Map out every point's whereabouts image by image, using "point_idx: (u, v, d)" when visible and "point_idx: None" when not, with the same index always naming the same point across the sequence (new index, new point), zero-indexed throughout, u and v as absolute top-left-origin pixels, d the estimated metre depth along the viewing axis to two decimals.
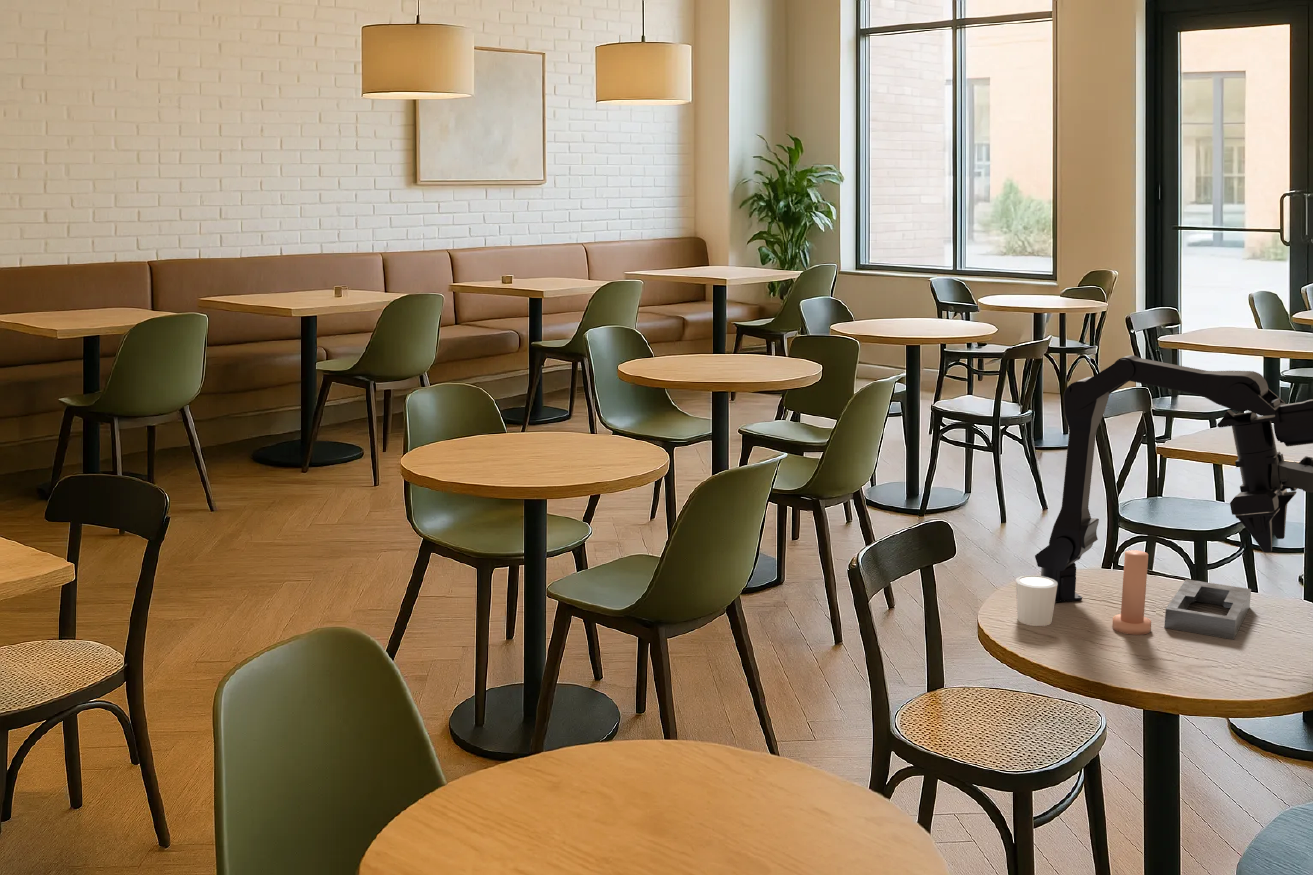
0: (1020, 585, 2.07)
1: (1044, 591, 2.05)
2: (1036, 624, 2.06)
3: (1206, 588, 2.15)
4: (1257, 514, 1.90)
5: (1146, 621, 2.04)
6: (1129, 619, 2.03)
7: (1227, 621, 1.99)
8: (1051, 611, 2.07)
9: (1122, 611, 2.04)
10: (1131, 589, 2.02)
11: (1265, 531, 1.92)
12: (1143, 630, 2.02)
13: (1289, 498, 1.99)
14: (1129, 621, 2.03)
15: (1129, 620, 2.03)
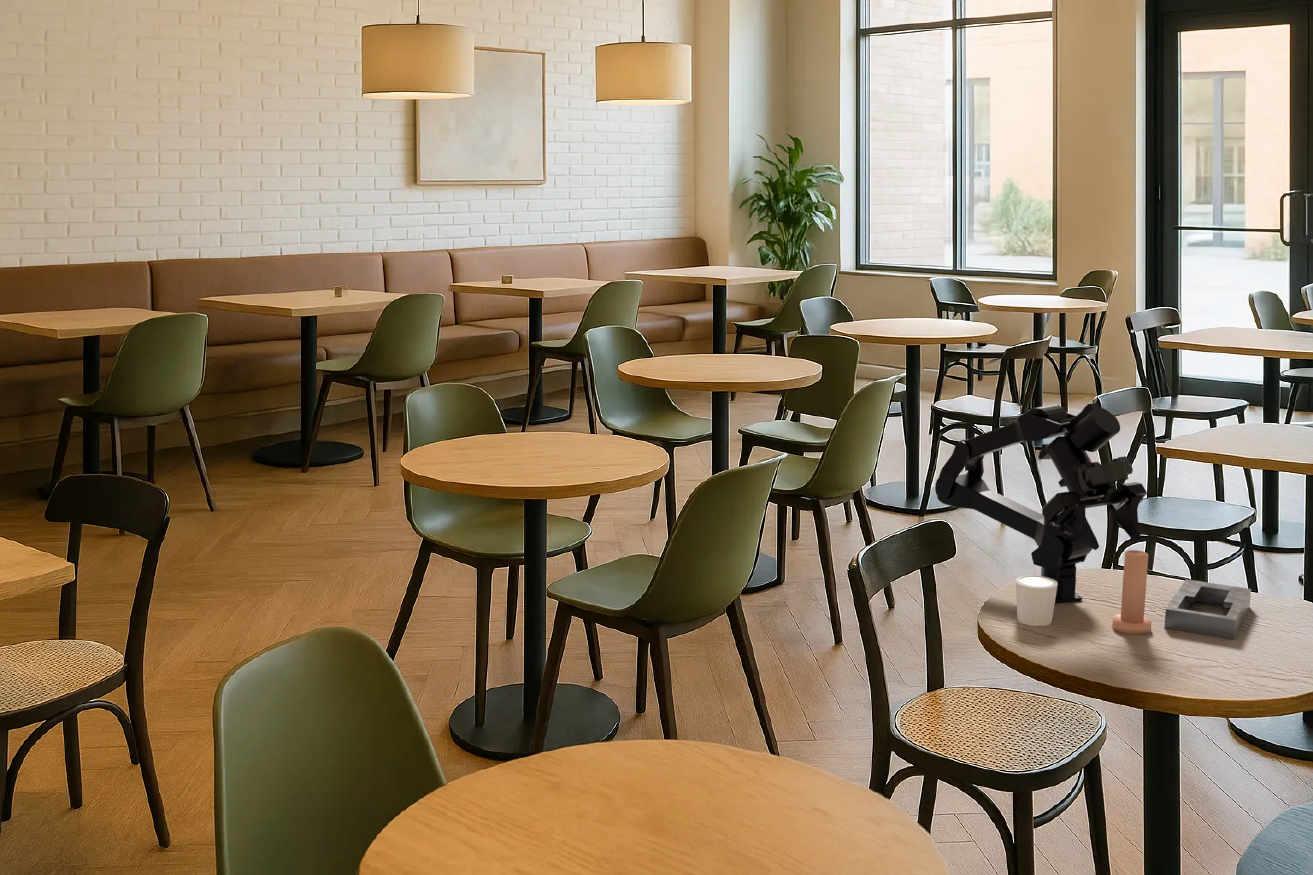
0: (1020, 585, 2.07)
1: (1044, 591, 2.05)
2: (1036, 624, 2.06)
3: (1206, 588, 2.15)
4: (1063, 514, 2.06)
5: (1146, 621, 2.04)
6: (1129, 619, 2.03)
7: (1227, 621, 1.99)
8: (1051, 611, 2.07)
9: (1122, 611, 2.04)
10: (1131, 589, 2.02)
11: (1083, 529, 2.05)
12: (1143, 630, 2.02)
13: (1130, 502, 2.09)
14: (1129, 621, 2.03)
15: (1129, 620, 2.03)
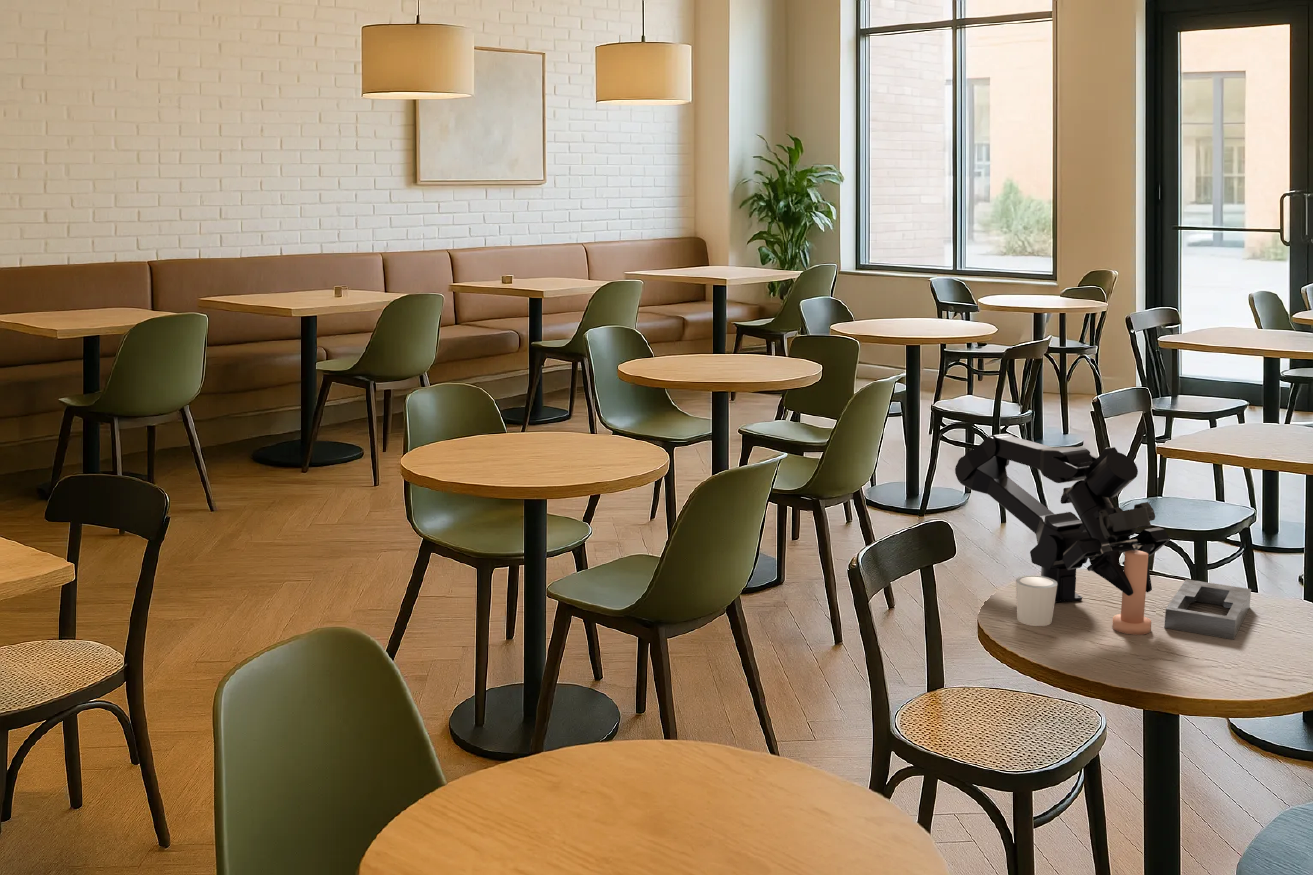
0: (1020, 585, 2.07)
1: (1043, 591, 2.05)
2: (1036, 624, 2.06)
3: (1206, 588, 2.15)
4: (1096, 559, 2.03)
5: (1146, 620, 2.04)
6: (1129, 619, 2.03)
7: (1227, 621, 1.99)
8: (1051, 611, 2.07)
9: (1122, 611, 2.04)
10: None
11: (1116, 574, 2.02)
12: (1143, 630, 2.02)
13: (1141, 550, 2.04)
14: (1129, 621, 2.03)
15: (1129, 620, 2.03)
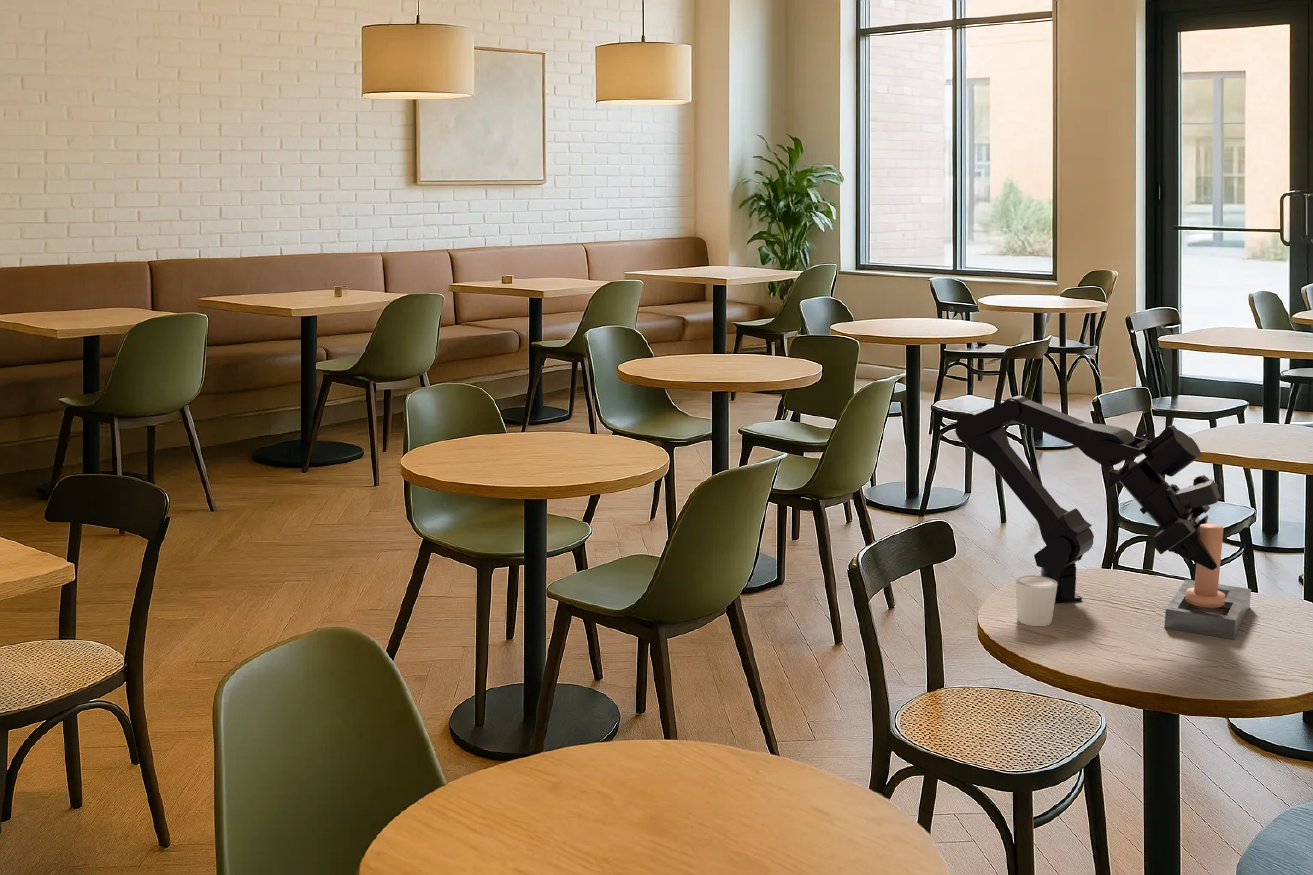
0: (1020, 585, 2.07)
1: (1044, 591, 2.05)
2: (1036, 624, 2.06)
3: None
4: (1184, 539, 2.00)
5: None
6: (1210, 593, 2.03)
7: (1227, 621, 1.99)
8: (1051, 611, 2.07)
9: (1201, 586, 2.04)
10: None
11: (1200, 551, 2.01)
12: (1224, 601, 2.03)
13: (1204, 523, 2.06)
14: (1210, 595, 2.03)
15: (1210, 594, 2.03)
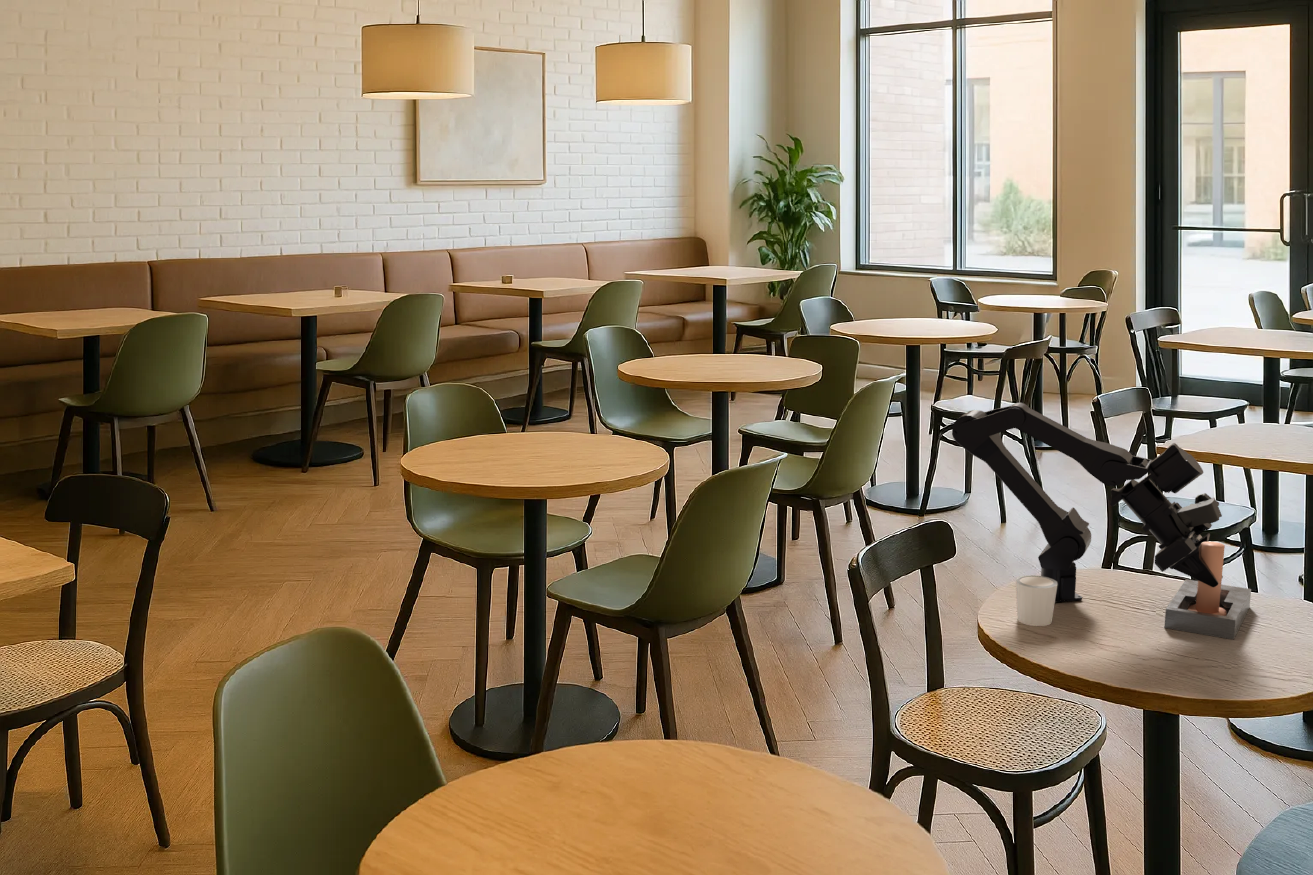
0: (1020, 585, 2.07)
1: (1044, 591, 2.05)
2: (1036, 624, 2.06)
3: None
4: (1185, 557, 2.03)
5: None
6: (1211, 610, 2.06)
7: (1227, 621, 1.99)
8: (1051, 611, 2.07)
9: (1202, 603, 2.07)
10: None
11: (1202, 568, 2.04)
12: None
13: (1205, 541, 2.09)
14: (1211, 612, 2.06)
15: (1211, 611, 2.06)
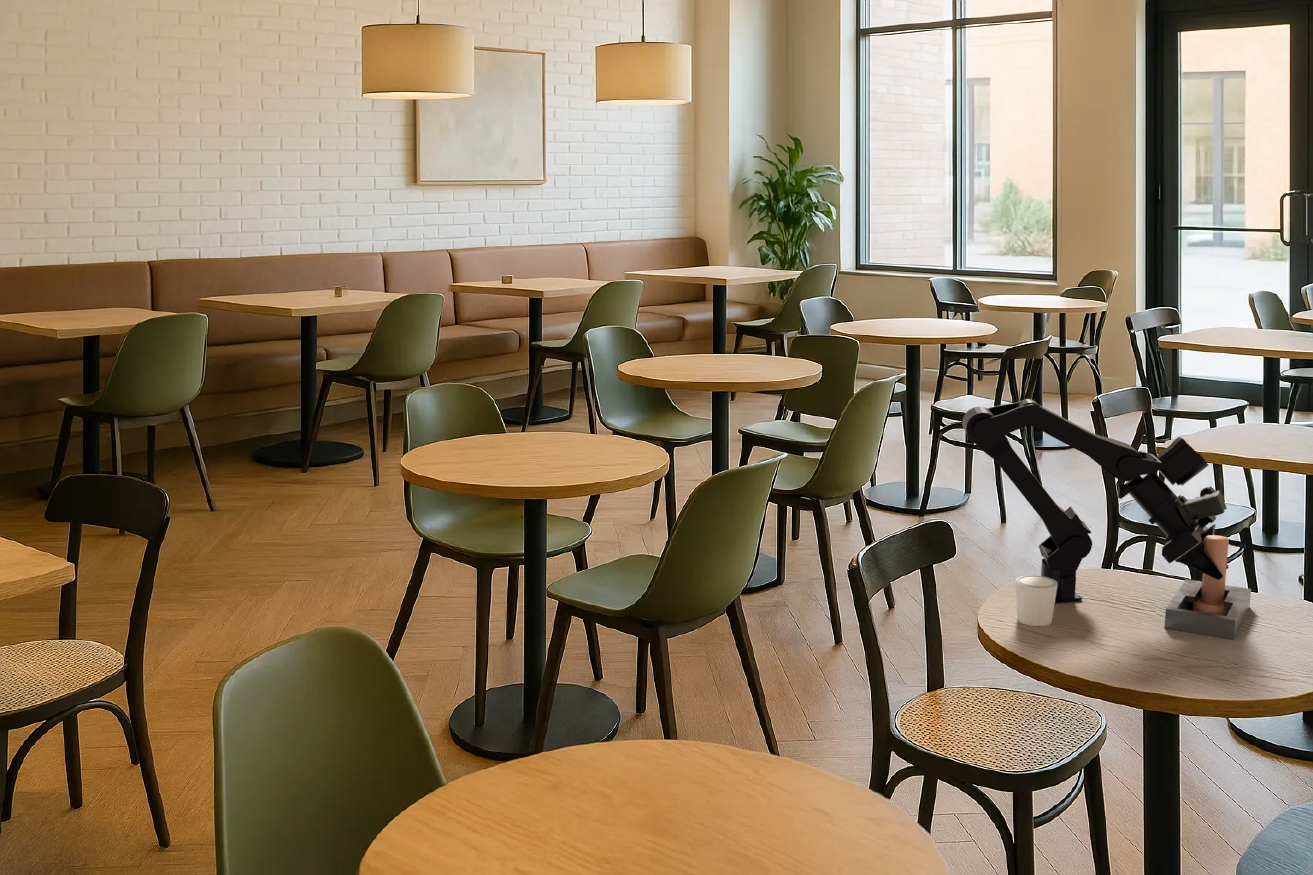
0: (1020, 585, 2.07)
1: (1044, 591, 2.05)
2: (1036, 624, 2.06)
3: None
4: (1190, 550, 2.07)
5: None
6: (1216, 602, 2.11)
7: (1227, 621, 1.99)
8: (1051, 611, 2.07)
9: (1208, 595, 2.11)
10: None
11: (1207, 561, 2.08)
12: None
13: (1211, 532, 2.14)
14: (1216, 604, 2.11)
15: (1216, 603, 2.11)
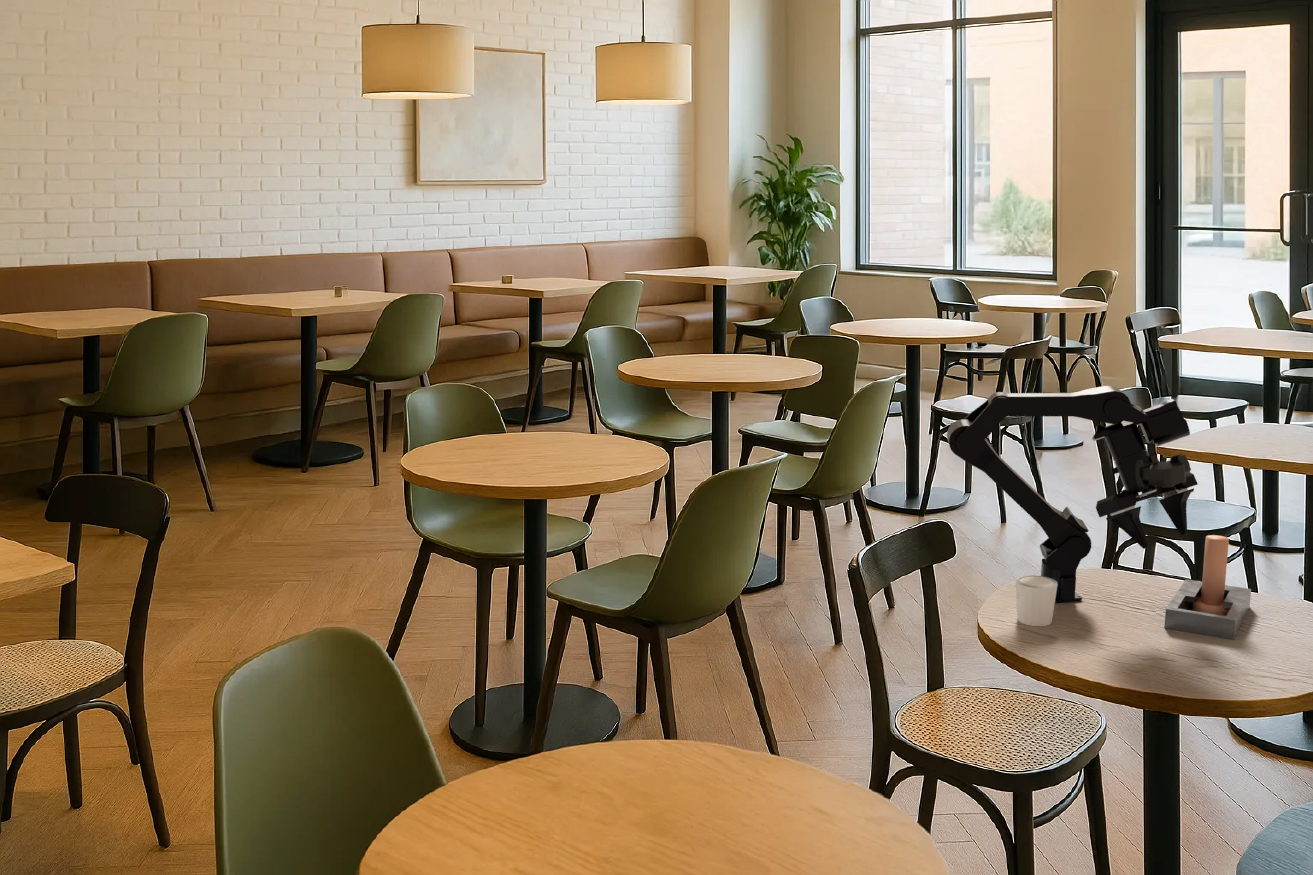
0: (1020, 585, 2.07)
1: (1044, 591, 2.05)
2: (1036, 624, 2.06)
3: None
4: (1117, 514, 2.07)
5: None
6: (1216, 602, 2.11)
7: (1227, 621, 1.99)
8: (1051, 611, 2.07)
9: (1208, 595, 2.11)
10: (1218, 572, 2.09)
11: (1135, 529, 2.08)
12: None
13: (1181, 495, 2.11)
14: (1216, 604, 2.11)
15: (1216, 603, 2.11)
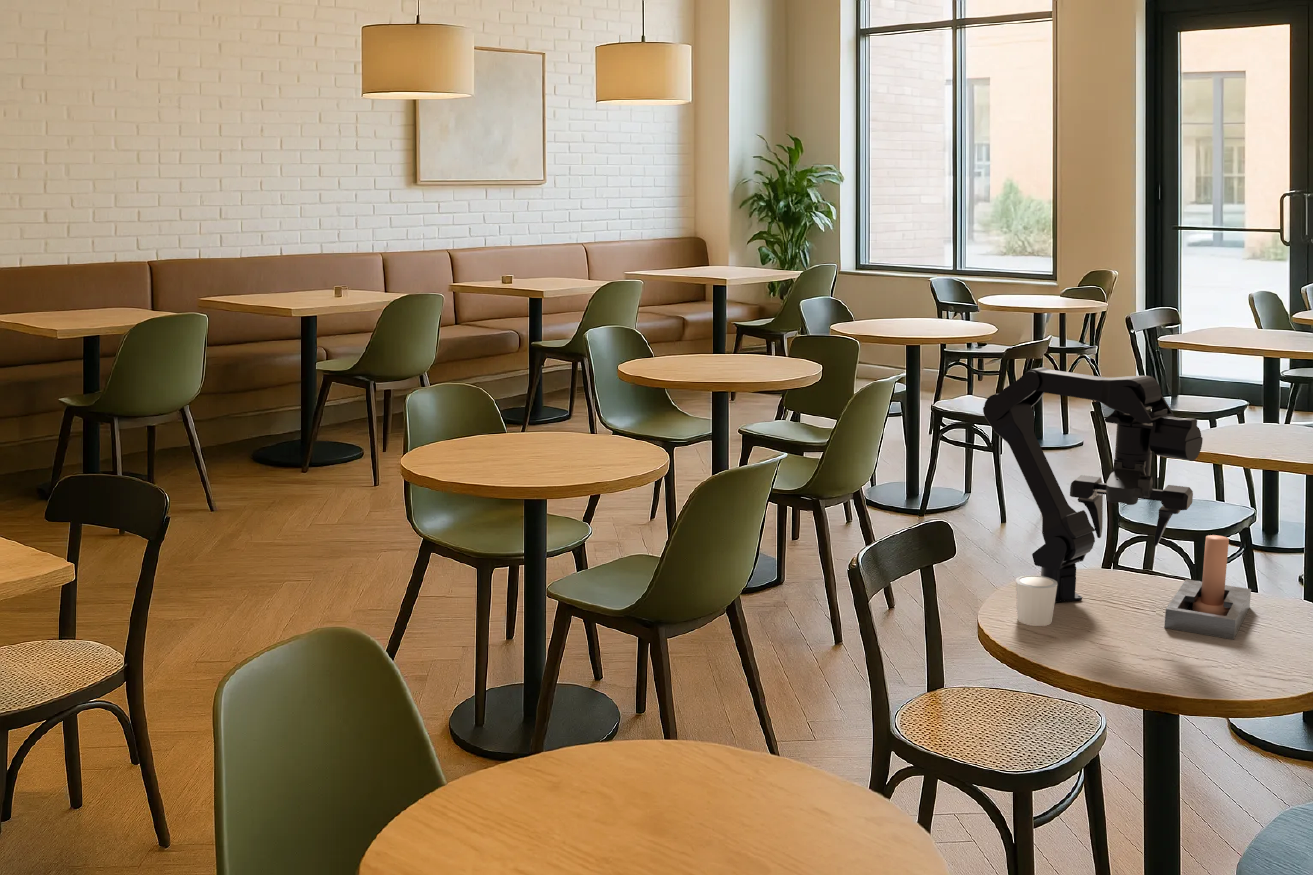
0: (1020, 585, 2.07)
1: (1044, 591, 2.05)
2: (1036, 624, 2.06)
3: None
4: None
5: None
6: (1216, 602, 2.11)
7: (1227, 621, 1.99)
8: (1051, 611, 2.07)
9: (1208, 595, 2.11)
10: (1218, 572, 2.09)
11: None
12: None
13: (1159, 511, 2.03)
14: (1216, 604, 2.11)
15: (1216, 603, 2.11)
